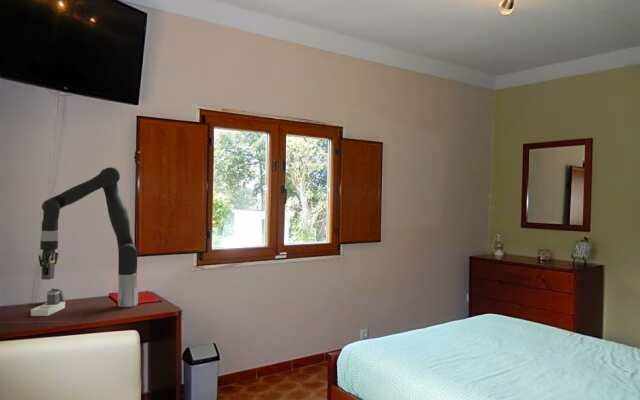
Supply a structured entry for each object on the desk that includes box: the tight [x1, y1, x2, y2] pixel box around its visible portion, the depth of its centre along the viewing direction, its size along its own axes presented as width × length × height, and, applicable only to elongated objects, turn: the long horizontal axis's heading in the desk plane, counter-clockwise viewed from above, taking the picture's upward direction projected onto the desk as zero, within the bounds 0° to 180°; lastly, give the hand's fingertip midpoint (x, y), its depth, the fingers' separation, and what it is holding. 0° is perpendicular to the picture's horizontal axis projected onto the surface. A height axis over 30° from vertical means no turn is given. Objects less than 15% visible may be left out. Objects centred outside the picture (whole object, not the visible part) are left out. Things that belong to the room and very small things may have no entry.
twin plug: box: [46, 290, 60, 305], centre depth 230 cm, size 4×4×9 cm
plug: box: [40, 260, 56, 281], centre depth 222 cm, size 4×4×9 cm
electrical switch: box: [46, 287, 67, 305], centre depth 243 cm, size 9×5×9 cm, turn 57°
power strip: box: [30, 302, 66, 317], centre depth 225 cm, size 8×16×4 cm, turn 3°
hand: (48, 274), depth 222 cm, fingers closed on plug, 4 cm apart
